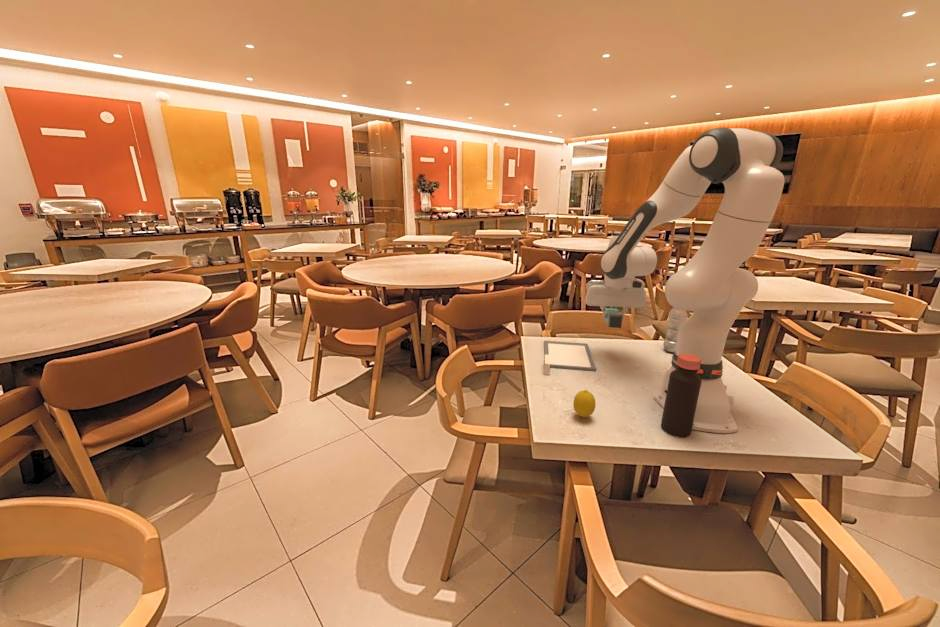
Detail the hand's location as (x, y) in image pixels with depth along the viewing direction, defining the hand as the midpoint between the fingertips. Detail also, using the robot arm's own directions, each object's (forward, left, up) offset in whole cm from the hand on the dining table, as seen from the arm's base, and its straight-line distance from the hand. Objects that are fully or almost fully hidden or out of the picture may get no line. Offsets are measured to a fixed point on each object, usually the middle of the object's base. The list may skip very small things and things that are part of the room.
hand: (612, 318), depth 136 cm
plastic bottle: (+9, -25, -15) cm, 31 cm away
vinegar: (-46, -9, -15) cm, 49 cm away
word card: (-17, +23, -15) cm, 32 cm away
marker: (0, 0, -2) cm, 2 cm away
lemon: (-45, +14, -15) cm, 49 cm away
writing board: (-3, +15, -15) cm, 21 cm away
